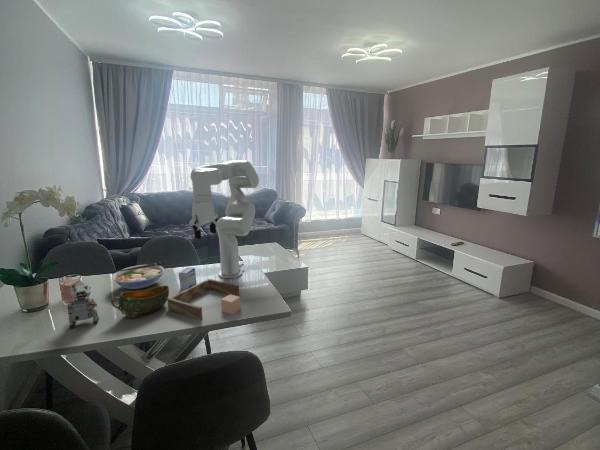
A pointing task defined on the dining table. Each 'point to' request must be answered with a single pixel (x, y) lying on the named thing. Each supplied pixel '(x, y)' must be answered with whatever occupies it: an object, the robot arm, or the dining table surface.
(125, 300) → the cup
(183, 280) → the medicine box
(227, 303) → the terracotta block
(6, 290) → the dining table surface
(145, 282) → the ramen bowl
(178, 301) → the wooden open frame
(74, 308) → the figurine
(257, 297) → the dining table surface
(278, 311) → the dining table surface
